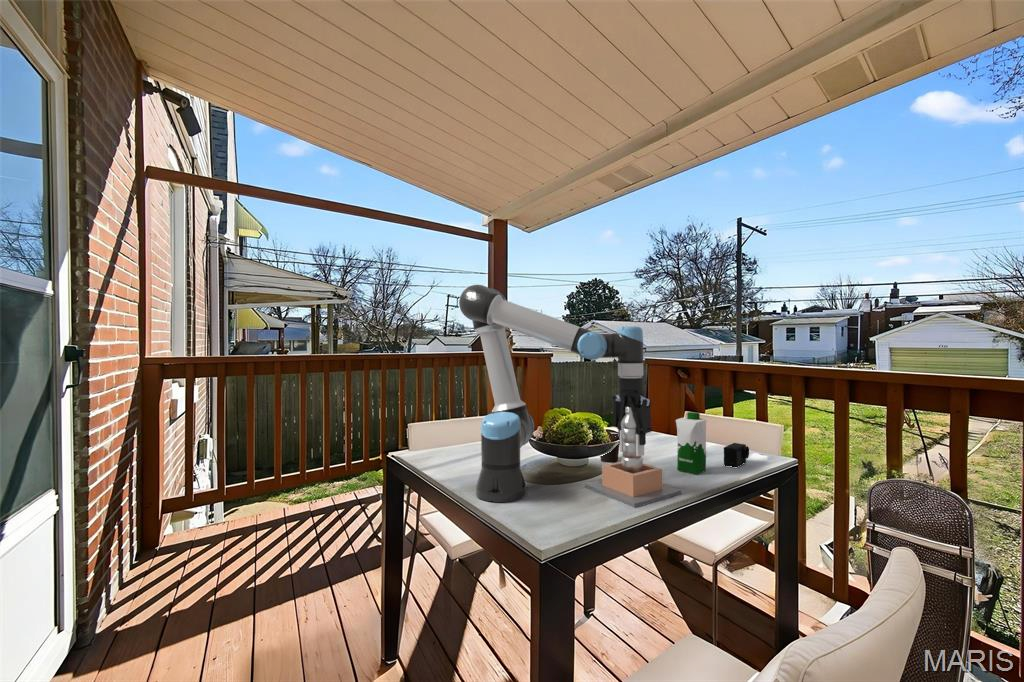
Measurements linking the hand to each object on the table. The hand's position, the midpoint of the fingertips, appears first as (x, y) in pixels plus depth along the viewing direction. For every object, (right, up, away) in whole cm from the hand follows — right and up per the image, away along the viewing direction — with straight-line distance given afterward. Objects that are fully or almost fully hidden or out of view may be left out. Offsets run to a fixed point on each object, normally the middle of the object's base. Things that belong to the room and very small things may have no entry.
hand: (631, 453), depth 130 cm
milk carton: (+26, -12, +20) cm, 35 cm away
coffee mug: (+2, -12, +35) cm, 37 cm away
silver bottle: (0, -6, 0) cm, 6 cm away
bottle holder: (0, -11, 0) cm, 11 cm away
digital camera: (+46, -12, +27) cm, 55 cm away
